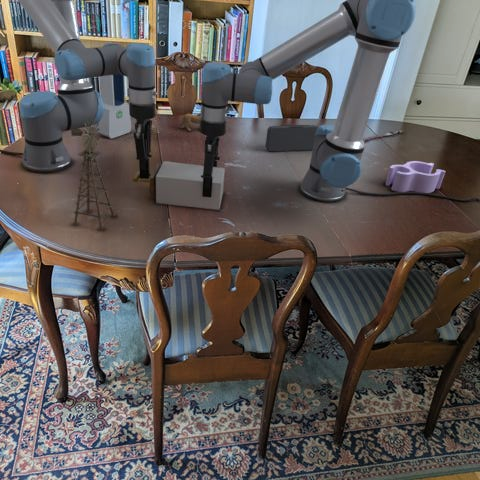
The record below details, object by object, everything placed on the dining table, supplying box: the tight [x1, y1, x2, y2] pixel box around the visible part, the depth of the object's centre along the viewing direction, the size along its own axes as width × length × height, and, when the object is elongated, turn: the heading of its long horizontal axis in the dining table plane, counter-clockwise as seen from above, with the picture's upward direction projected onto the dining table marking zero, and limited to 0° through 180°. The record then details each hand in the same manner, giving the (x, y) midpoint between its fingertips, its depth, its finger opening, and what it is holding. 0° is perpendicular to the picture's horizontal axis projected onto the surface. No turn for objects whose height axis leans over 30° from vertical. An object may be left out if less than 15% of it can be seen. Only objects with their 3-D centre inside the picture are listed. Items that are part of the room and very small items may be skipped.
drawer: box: [132, 163, 162, 200], centre depth 146 cm, size 24×10×7 cm, turn 86°
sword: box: [362, 130, 405, 143], centre depth 214 cm, size 31×3×1 cm, turn 126°
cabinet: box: [155, 161, 226, 211], centre depth 146 cm, size 20×11×9 cm, turn 86°
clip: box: [385, 160, 447, 194], centre depth 170 cm, size 20×12×7 cm, turn 109°
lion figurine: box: [177, 112, 201, 132], centre depth 198 cm, size 15×5×9 cm, turn 110°
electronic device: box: [95, 74, 132, 139], centre depth 180 cm, size 12×8×30 cm, turn 148°
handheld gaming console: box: [264, 124, 320, 152], centre depth 189 cm, size 23×3×10 cm, turn 108°
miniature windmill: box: [70, 116, 115, 230], centre depth 124 cm, size 9×8×30 cm
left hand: (144, 177), depth 146 cm, fingers closed
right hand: (209, 187), depth 146 cm, fingers closed on cabinet, 11 cm apart
